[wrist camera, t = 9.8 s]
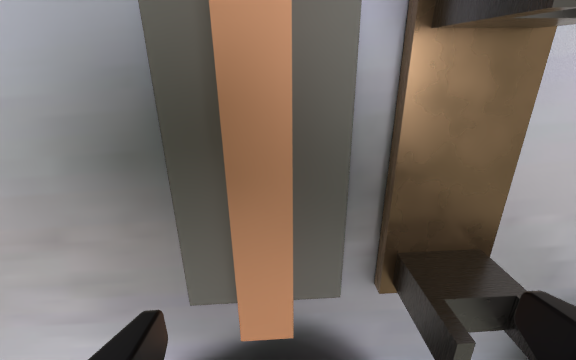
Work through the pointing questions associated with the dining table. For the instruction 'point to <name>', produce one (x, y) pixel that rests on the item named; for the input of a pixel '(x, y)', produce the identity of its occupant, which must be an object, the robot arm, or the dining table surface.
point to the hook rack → (460, 162)
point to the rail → (258, 156)
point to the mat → (209, 149)
